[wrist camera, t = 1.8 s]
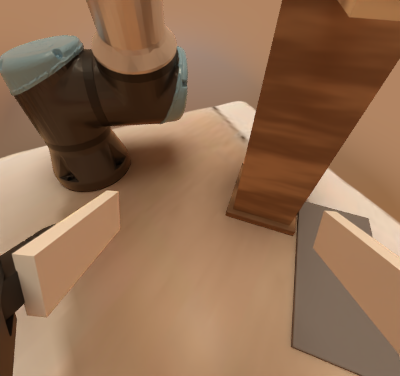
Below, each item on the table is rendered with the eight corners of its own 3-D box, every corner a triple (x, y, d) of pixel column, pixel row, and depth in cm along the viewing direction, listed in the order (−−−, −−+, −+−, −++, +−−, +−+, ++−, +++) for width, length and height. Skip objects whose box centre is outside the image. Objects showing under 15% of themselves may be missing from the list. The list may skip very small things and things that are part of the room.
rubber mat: (403, 393, 23) (407, 394, 22) (291, 346, 25) (292, 346, 25) (366, 220, 38) (368, 218, 37) (298, 202, 40) (299, 200, 40)
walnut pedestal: (292, 235, 35) (463, 2, 13) (225, 215, 38) (269, -9, 15) (296, 180, 44) (401, -15, 22) (241, 167, 47) (284, -20, 24)
